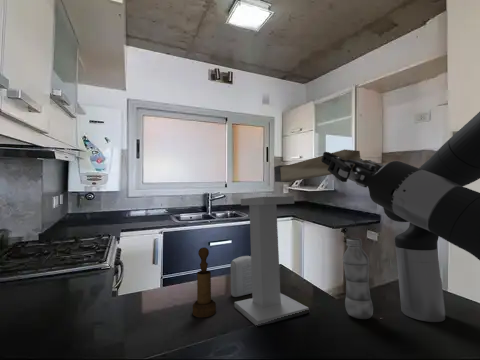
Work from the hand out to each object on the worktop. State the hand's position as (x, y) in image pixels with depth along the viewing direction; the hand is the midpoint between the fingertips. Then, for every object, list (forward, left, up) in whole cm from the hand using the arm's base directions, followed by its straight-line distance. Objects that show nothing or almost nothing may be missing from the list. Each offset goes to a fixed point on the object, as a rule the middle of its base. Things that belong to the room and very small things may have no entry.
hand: (332, 157), depth 50 cm
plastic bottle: (-18, -12, -39) cm, 45 cm away
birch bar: (0, -7, -3) cm, 7 cm away
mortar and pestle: (+17, -35, -39) cm, 55 cm away
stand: (0, -27, -39) cm, 47 cm away
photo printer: (0, -43, -39) cm, 58 cm away
